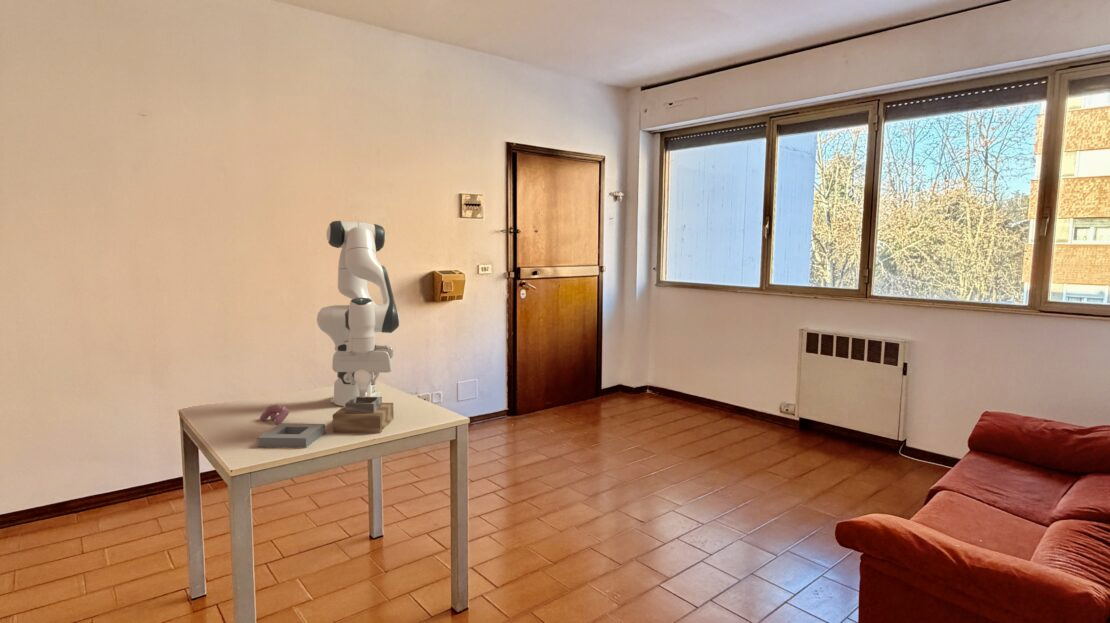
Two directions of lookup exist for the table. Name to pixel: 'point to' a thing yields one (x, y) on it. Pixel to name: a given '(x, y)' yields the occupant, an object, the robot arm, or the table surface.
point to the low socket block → (291, 435)
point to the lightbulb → (363, 381)
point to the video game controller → (275, 413)
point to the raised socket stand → (363, 415)
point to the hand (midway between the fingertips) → (363, 384)
